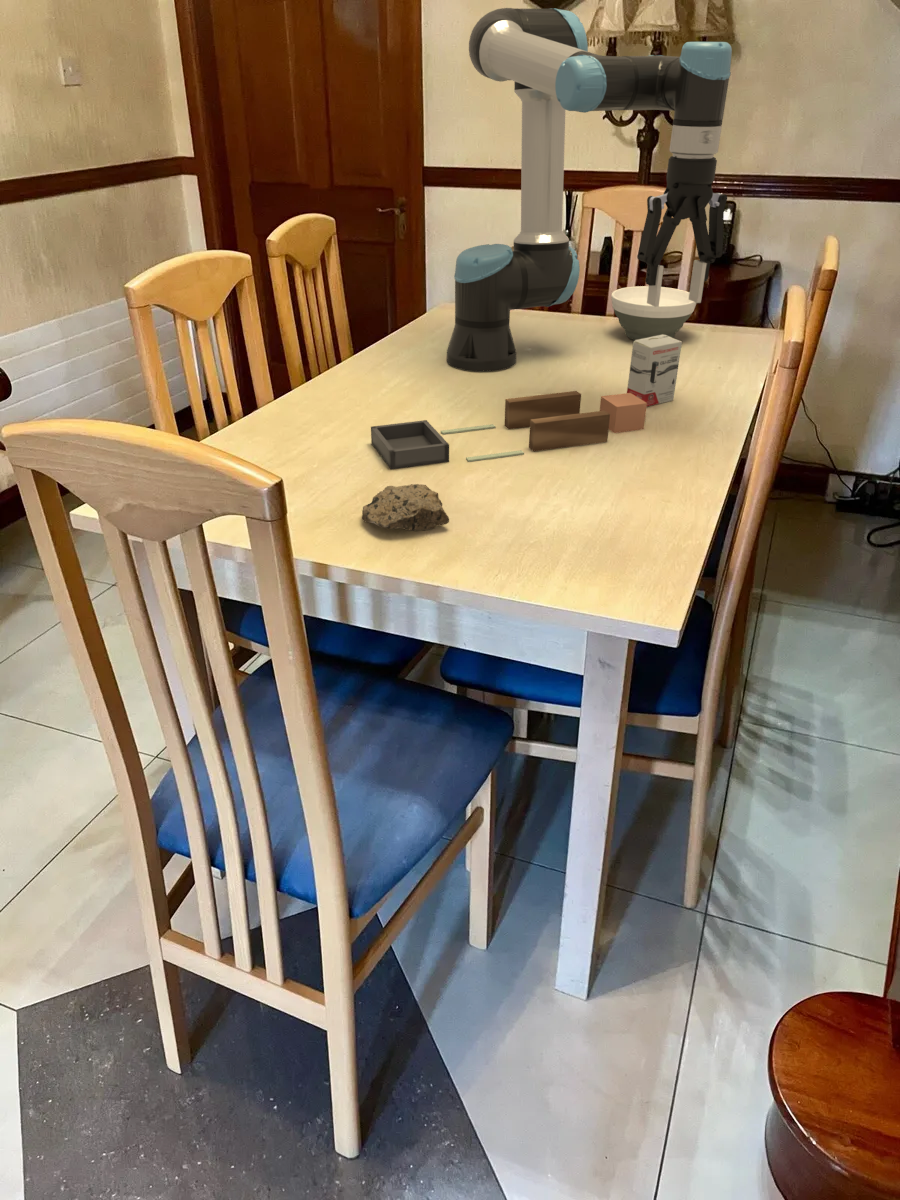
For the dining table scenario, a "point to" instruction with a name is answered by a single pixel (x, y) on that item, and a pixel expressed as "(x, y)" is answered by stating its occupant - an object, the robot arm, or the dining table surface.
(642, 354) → the ink box
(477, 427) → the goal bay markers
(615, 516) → the dining table surface
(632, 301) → the bowl
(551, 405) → the channel
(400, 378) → the dining table surface
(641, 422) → the rust block
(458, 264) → the robot arm
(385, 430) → the tray
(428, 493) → the rock
